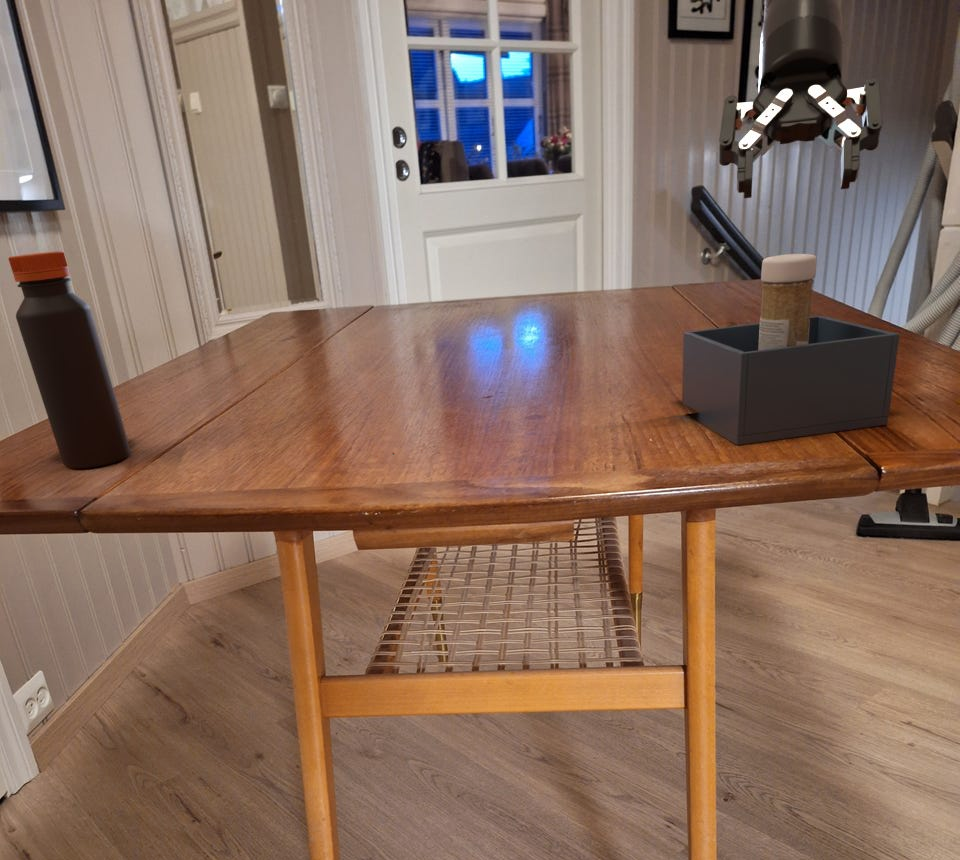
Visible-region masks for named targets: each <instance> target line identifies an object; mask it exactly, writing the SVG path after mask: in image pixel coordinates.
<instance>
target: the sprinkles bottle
mask: <svg viewBox="0 0 960 860" xmlns="http://www.w3.org/2000/svg"><path fill="white" fill-rule="evenodd" d="M817 263H818V262H817V255H814V254H810V253H789V254H788V253H787V254H779V255H774V256H768V257H765V258H764V259H762V263H761V274H760V280H761V281H762V283H761V286H762V292H761V308H760V309H761V310H760V316H759V317H760V318H759V323H760V329H759V346H758V350H765V349H773V348H781V347H789V346H797V345H805V344H808V340H809V328H810V319H809V318H810V317H811V305H812V292H813V284H814V278H816V276H817V275H816V274H817Z"/></svg>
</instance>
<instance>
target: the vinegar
mask: <svg viewBox="0 0 960 860" xmlns="http://www.w3.org/2000/svg"><path fill="white" fill-rule="evenodd" d="M65 255H66V254H65V252H64V251H63V250H59V251H58V250H57V251H48V252H47V251H46V252H37V253H28V254H20V255H13V256H9V257H8V258H7V259H8V263H9V265H10V269H11V272H12V275H13V278H14V281H15V282H16V283H18V284H17V287H18V288H21V291H22V295H23V300H22V301H21V303H20V305H19V307H18V309H17V311H16V313H15V319H16V322H17V326H18V329H19V331H20V335H21V338H22V341H23V344H24V347H25V350H26V353H27V356H28V359H29V363H30V365H31V369H32V372H33V374H34V378H35V381H36V384H37V388H38V390H39V394H40V397H41V400H42V403H43V406H44V410H45V412H46V416H47V418H48V419H47V420H48V422H49V425H50V428H51V431H52V435H53V438H54V441H55V443H56V447H57V451H58V453H59V456H60V459H61V462H62V464H63V465H64V467H66V468H68V469H74V470H83V469H94V468H99V467H104V465H105V466H108V465H112V464H115V463H118V462H121V461H122V460H125V459H127V458H128V457H129V456H130V454H131V448H130V447H131V446H130V444H129V440H128V436H127V433H126V429H125V426H124V422H123V419H122V415H121V411H120V409H119V404H118V401H117V398H116V394H115V390H114V387H113V383H112V379H111V376H110V373H109V370H108V366H107V362H106V358H105V355H104V352H103V349H102V344H101V341H100V337H99V334H98V331H97V327H96V324H95V320H94V316H93V313H92V309H91V307H90V305H89V303H87V302H86V301H85V300H83V299H82V298H81V297H80V296H78V295H76V293H74V292H73V291H72V288H71V285H70V282H71V281H72V279H71V278H69V277H70V276H71V272H70V269H69V266H68V262H67V258H66V256H65Z"/></svg>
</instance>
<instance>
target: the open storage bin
mask: <svg viewBox="0 0 960 860" xmlns="http://www.w3.org/2000/svg"><path fill="white" fill-rule="evenodd" d="M809 319H810V328H809V340H808V344H805V345H797V346H789V347H781V348H773V349H765V350H758V346H759V329H760V322H755V323H748V324H747V323H746V324H739V325H732V326H730V325H729V326H722V327H713V328H706V329H705V328H704V329H699V330H690V331H684V332H683V341H682V342H683V343H682V345H683V346H682V349H683V350H682V385H681V386H682V391H681V403H682V404H683V405H685V406H686V407H688V408H690V409H692V410H693V411H696V412H690V413H685V415H686V416H687V417H689V418H691V419H692V420H694V421H696V422H697V423H699V424H701V425H702V426H704V427H705V428H707V429H709V430H710V431H713V432H714V433H716V434H717V435H719V436H721V437H722V438H724V439H726V440H728V441H729V442H731V443H733V444H734V445H736V446H742V445H750V444H757V443H764V442H770V441H771V442H772V441H779V440H785V439H786V440H787V439H793V438H800V437H808V436H815V435H823V434H829V433H838V432H844V431H852V430H853V431H854V430H860V429H867V428H873V427H880V426H881V425H882V426H887V425H888V424H889V423H888V422H889V416H890V408H891V401H892V400H891V399H892V395H893V387H894V379H895V372H896V364H897V359H898V358H897V357H898V350H899V349H898V348H899V342H900V333H897V332H893V331H888V330H884V329H880V328H874V327H871V326H868V325H867V326H866V325H863V324H858V323H855V322H851V321H846V320H843V319H837V318H833V317H830V316H824V315H813V316H810V318H809ZM882 426H881V427H882Z"/></svg>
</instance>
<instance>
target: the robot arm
mask: <svg viewBox="0 0 960 860" xmlns="http://www.w3.org/2000/svg"><path fill="white" fill-rule="evenodd" d="M840 3H841V0H764V13H763V24H762V28H761V34H760V43H759V44H760V45H759V55H758V61H759V64H758V65H759V66H758V68H759V69H758V86H757V87H758V91H757V95H756V97H755V98H754V99H753V101H746V102H745V101H744V102H738V97H737V96H736V95H733V94H732V95H728V96H726V97H725V98H724V101H723V102H724V103H723V108H722V116H721V117H722V118H721V125H720V132H719V137H718V138H719V140H718V163H719V165H720V166H722V167H725V166H729V165H730V164H734V165H735V166H736V167H737V170H736V191H737V193H738V194H742V193H743V199H752V196H753V195H752V194H753V171H754V163H755V162H756V160H757V159H758V158H759V157H763V156H765V155H766V153H768V151H770V150H771V148H772V147H773V146H774V145H775V144H776V143H777V142H779V145H787V144H791V143H794V142H813V141H814V142H815V139H816V138H818V139H819V140H820V141H821V142H822V143H823V144H824V145H826V147H828V148H829V149H833V148H834V149H836V150H837V151H838V152H839V153H840V154H841V157H840V190H849V188H850V185H851V183H856V181H857V179H858V177H859V176H858V175H859V172H860V171H859V170H860V165H861V163H860V162H861V161H860V159H861V157H860V155H861V151H863V150H867V151H875V150H876V149H877V148H878V147H879V143H880V135H881V131H882V128H883V123H884V121H883V109H882V99H881V88H880V80H879V79H878V78H877V77H869V78H867V79H866V80H865V82H864V86H861V87H855V88H847V87H846V86H845V84H844V83H843V15H842V11H841V4H840ZM847 106H848V107H851V108H852V109H853V111H854V112H855V113H856V116H857V117H861V123H862V125H861V126H862V127H860V126H859V125H857V124H856V123H855V122H854V121H852V119H850V118H849V116H848V112H847V111H846V109H845V108H846V107H847ZM749 118H751V119H752V120H753V124H752V126H751V129H750V130H749V131H748V132H747V133H746V134H745V135H744V136H743V138H741V140H735V139H736V131H738V132H739V131H740V130H741V129H742V127H743V125H745V123H746V121H747V120H748V119H749Z"/></svg>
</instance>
